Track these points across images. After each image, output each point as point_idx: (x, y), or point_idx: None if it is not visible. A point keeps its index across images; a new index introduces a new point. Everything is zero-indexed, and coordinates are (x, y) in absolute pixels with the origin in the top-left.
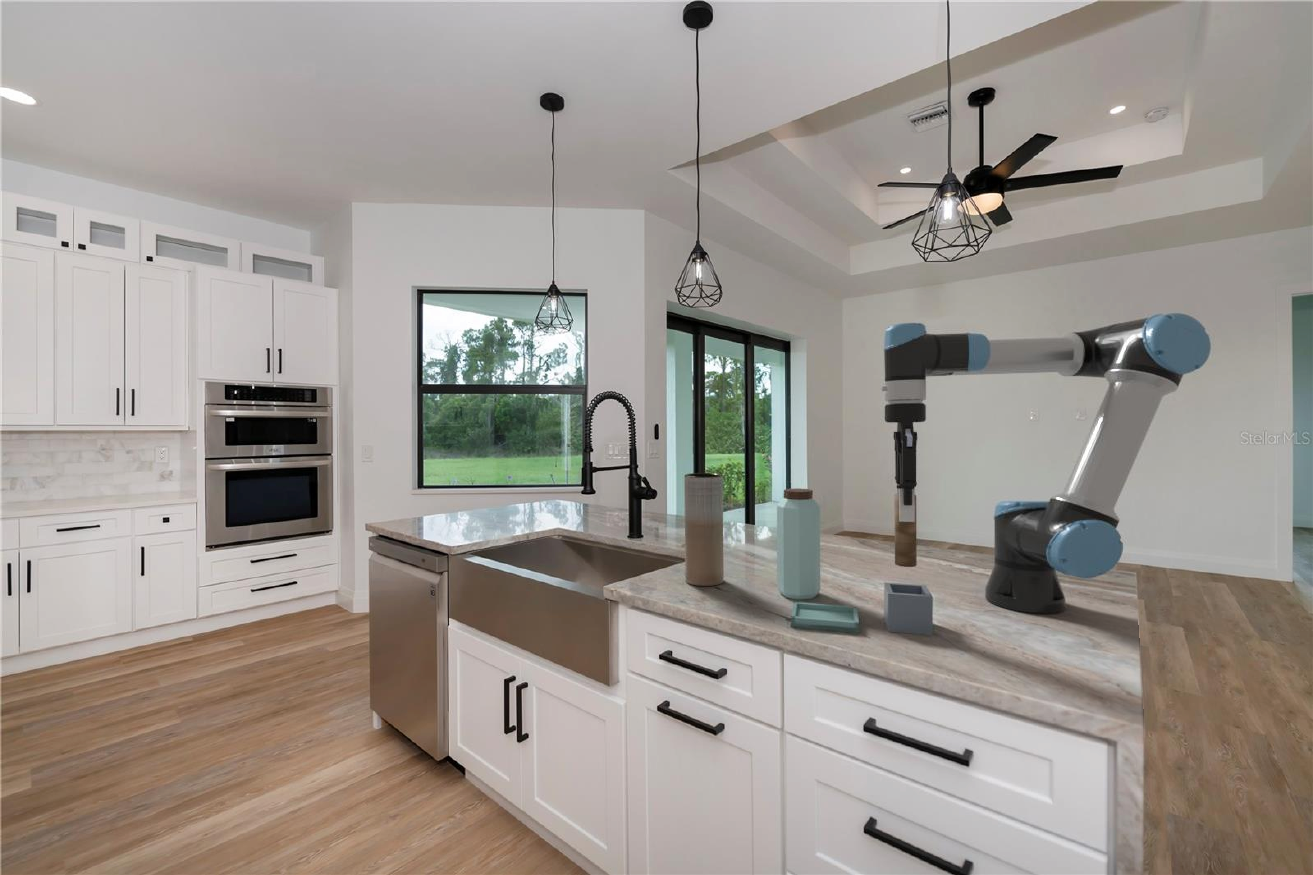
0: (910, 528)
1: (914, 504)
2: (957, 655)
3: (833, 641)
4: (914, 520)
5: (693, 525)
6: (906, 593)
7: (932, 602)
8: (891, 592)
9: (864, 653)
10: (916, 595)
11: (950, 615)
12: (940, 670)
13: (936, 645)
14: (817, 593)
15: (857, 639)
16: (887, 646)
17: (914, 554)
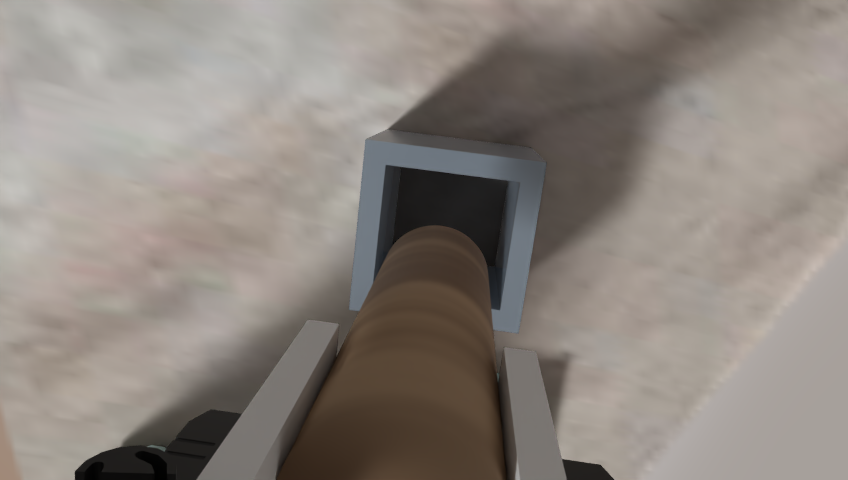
0: (493, 348)
1: (551, 429)
2: (704, 120)
3: (611, 463)
4: (535, 358)
5: None
6: (384, 218)
7: (544, 160)
8: (499, 315)
9: (701, 395)
10: (533, 225)
11: (305, 12)
12: (822, 211)
13: (621, 161)
14: (164, 448)
15: (589, 392)
16: (641, 317)
17: (478, 262)
